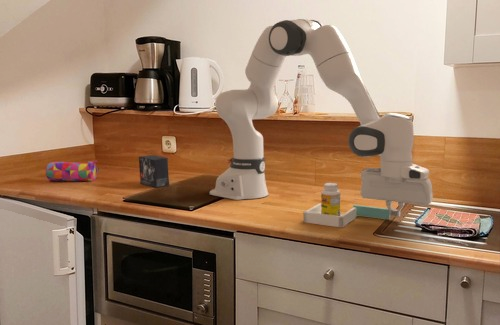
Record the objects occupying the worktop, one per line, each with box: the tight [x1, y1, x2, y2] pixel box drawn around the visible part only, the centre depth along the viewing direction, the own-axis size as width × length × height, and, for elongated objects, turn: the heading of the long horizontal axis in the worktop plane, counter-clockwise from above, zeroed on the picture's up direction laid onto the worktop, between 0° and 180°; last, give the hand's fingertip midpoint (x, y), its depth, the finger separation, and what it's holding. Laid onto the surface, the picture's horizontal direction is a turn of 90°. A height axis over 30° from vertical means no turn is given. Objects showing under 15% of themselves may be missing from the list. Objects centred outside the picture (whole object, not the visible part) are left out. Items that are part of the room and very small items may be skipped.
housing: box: [302, 203, 357, 229], centre depth 138 cm, size 12×12×3 cm
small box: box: [138, 154, 170, 189], centre depth 194 cm, size 13×7×12 cm, turn 42°
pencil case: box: [45, 160, 100, 182], centre depth 207 cm, size 22×9×9 cm, turn 90°
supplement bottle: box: [320, 182, 341, 216], centre depth 137 cm, size 6×6×10 cm
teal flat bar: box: [352, 204, 391, 221], centre depth 139 cm, size 11×1×3 cm, turn 58°
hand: (394, 215), depth 136 cm, fingers closed
